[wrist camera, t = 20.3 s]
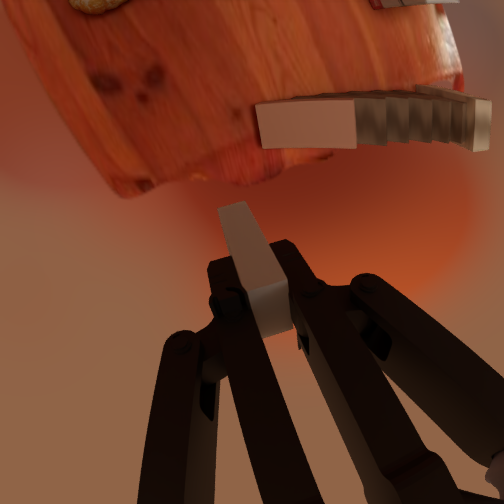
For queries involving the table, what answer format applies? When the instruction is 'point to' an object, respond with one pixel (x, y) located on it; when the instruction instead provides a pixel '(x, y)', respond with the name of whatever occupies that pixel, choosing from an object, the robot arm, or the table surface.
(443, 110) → the domino
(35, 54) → the table surface
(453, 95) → the bookend block
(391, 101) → the domino
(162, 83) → the table surface
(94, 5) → the fruit
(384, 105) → the domino
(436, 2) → the ink box
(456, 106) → the domino
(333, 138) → the domino
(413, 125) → the domino
